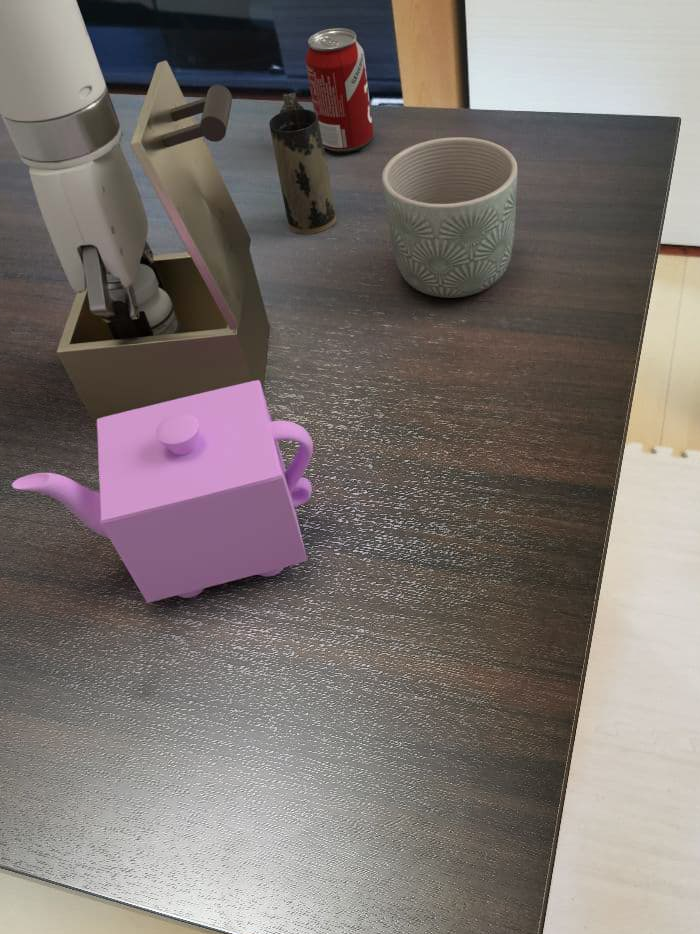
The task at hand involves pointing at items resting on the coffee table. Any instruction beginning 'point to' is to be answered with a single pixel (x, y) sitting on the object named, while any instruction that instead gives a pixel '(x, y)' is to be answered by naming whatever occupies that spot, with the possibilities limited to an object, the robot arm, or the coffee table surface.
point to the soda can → (339, 89)
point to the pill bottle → (151, 301)
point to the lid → (195, 184)
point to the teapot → (193, 491)
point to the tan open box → (166, 346)
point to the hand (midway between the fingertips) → (146, 327)
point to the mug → (302, 168)
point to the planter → (451, 214)
